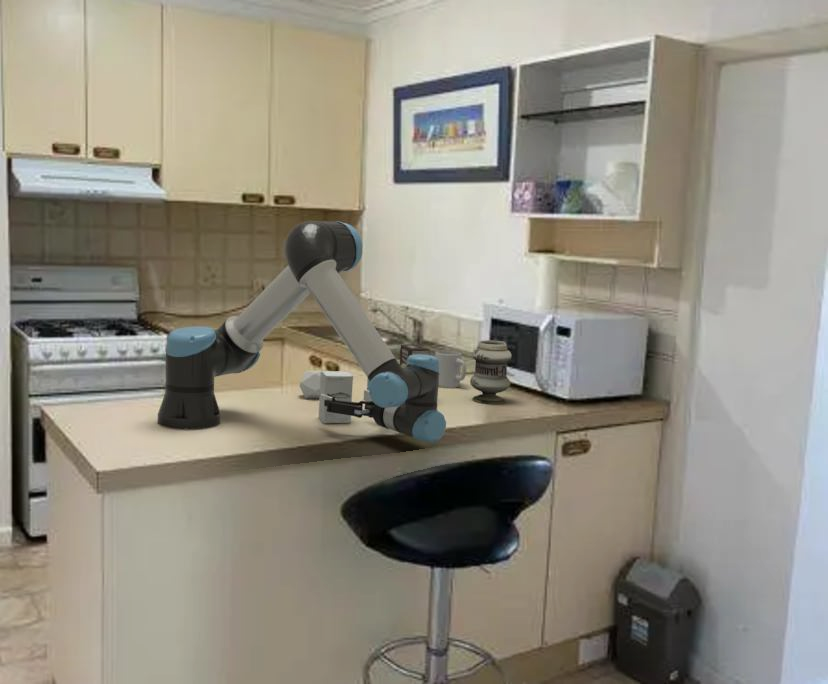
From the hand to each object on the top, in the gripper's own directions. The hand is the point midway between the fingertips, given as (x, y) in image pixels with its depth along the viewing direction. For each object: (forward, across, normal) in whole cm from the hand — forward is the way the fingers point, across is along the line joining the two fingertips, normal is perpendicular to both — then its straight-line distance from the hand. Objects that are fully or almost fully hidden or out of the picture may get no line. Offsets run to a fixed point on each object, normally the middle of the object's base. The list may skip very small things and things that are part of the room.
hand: (343, 397), depth 227 cm
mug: (+26, +61, -7) cm, 66 cm away
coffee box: (+15, +36, -7) cm, 39 cm away
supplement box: (+3, 0, -7) cm, 8 cm away
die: (+30, +11, -7) cm, 33 cm away
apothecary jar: (+4, +57, -7) cm, 57 cm away
